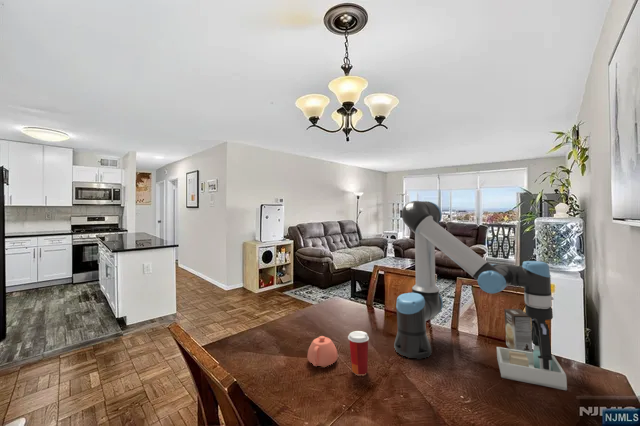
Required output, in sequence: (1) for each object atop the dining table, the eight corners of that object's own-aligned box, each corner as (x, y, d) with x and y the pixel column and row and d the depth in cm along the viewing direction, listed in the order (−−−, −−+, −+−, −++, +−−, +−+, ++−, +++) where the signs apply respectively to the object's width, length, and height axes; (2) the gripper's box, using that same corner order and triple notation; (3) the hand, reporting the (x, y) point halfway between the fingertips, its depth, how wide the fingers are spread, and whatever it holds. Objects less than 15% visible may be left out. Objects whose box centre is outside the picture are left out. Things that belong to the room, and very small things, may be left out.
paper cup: (371, 368, 104) (370, 331, 104) (368, 379, 97) (366, 339, 97) (351, 365, 107) (350, 329, 107) (347, 376, 99) (345, 337, 100)
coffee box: (505, 345, 119) (503, 308, 119) (521, 346, 118) (519, 308, 118) (516, 355, 110) (513, 315, 110) (534, 356, 109) (531, 315, 109)
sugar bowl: (342, 358, 113) (341, 333, 113) (329, 375, 100) (328, 347, 101) (315, 353, 118) (315, 329, 118) (300, 369, 105) (299, 342, 106)
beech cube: (529, 374, 95) (528, 360, 95) (511, 371, 97) (511, 357, 97) (526, 367, 99) (525, 353, 100) (509, 364, 102) (508, 351, 102)
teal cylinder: (536, 375, 94) (534, 355, 94) (533, 368, 98) (531, 349, 99) (554, 379, 92) (553, 358, 92) (550, 371, 96) (549, 351, 96)
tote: (501, 377, 95) (500, 363, 95) (497, 359, 107) (496, 346, 107) (567, 390, 87) (566, 374, 87) (554, 369, 99) (553, 355, 99)
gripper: (561, 316, 85) (566, 390, 84) (543, 298, 104) (547, 358, 103) (531, 313, 88) (536, 384, 88) (519, 296, 107) (523, 354, 106)
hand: (542, 370), depth 95 cm, fingers open, 9 cm apart
